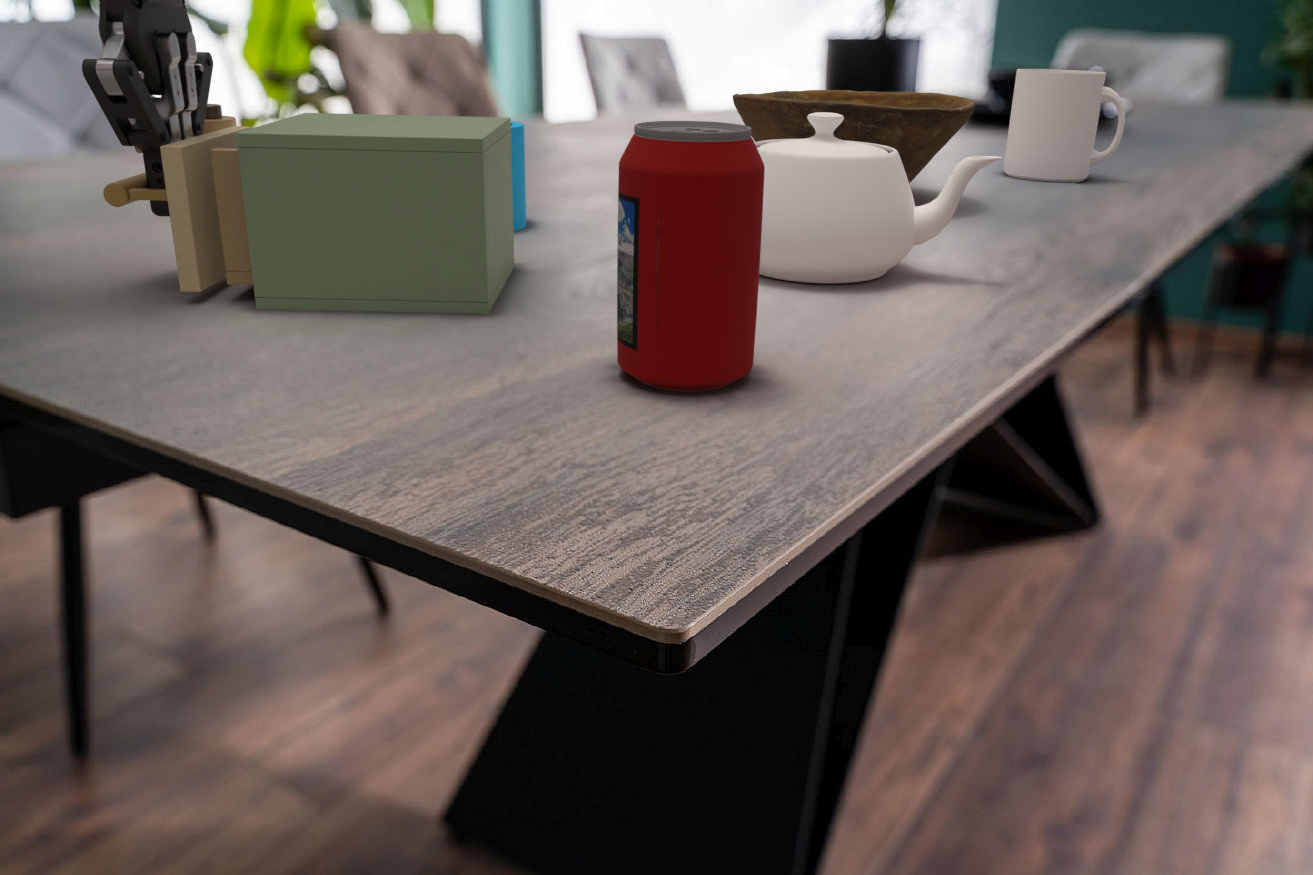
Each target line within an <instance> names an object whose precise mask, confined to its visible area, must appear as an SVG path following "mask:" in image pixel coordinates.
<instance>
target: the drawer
mask: <svg viewBox="0 0 1313 875" xmlns="http://www.w3.org/2000/svg"><path fill="white" fill-rule="evenodd" d="M251 128H253V127H252V126H246V125H245V126H243V125H242V126H241V125H240V126H239V125H238V126H237V125H236V126H233V127H229V128H226V129H222V130H218V131H215V132H211V133H207V134H204V135H200V136H196V137H193V138H189V139H185V140H182V141H178V142H174V143H171V144H167V145H163V146H160V150H161V157H162V164H163V171H164V178H165V185H166V189H148V186H147V179H146V173H145V172H142V173H138V174H136V175H132V176H129V177H126V178H123V179H119V180H117V181H113V182H110V183H108V184H107V185H106V186H105V187H104V188H103V191H102V194H103V198H104V200H105V202H106V203H107V204H108V205H110V206H111V207H115V208H122V207H123V206H127V205H130V204H133V203H134V202H137V201H150V200H153V201H168V206H169V214H170V216H169V220H170V226H171V234H172V240H173V248H174V254H175V261H176V268H177V269H176V270H177V276H178V283H179V289H180V290H179V291H180V292H182V293H185V292H186V293H187V292H188V293H201V292H203V291H204V290H206V289H208V288H209V287H211V286H213V285H214V284H216V283H217V282H219V281H221V280H222V279H224V278H225V280H226V284H227V285H228V286H253V277H252V269H251V260H250V252H249V243H248V235H247V226H246V217H245V209H244V200H243V192H242V183H241V175H240V166H239V157H238V149H237V148H238V146H237V139H236V133H237V132H241V131H244V130H247V129H251Z"/></svg>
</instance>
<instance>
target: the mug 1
mask: <svg viewBox="0 0 1313 875" xmlns="http://www.w3.org/2000/svg"><path fill="white" fill-rule="evenodd" d="M510 131H511V155H512V193H513V232H517V231H521V230H523V229H525V228H526V226H527V199H526V198H527V196H526V195H527V194H526V191H527V190H526V154H525V152H526V151H525V150H526V149H525V148H526V147H525V145H526V144H525V124H524V123H523V122H519V121H513V120H511V130H510Z"/></svg>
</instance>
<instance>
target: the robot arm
mask: <svg viewBox="0 0 1313 875" xmlns="http://www.w3.org/2000/svg"><path fill="white" fill-rule="evenodd" d="M98 2H99V4H98V8H99V9H98V10H99V11H98V12H99V13H98V14H99V17H98V34H99V37H100V41H101V45H102V46H101V47H102V51H101V54H100V57H99V58H84V59H83V60H82V63H81V72H82V76H83V78H84V79H85V80H84V81H85V82H86V84H87V85H88V87H89V89H90V91H91V92H92V95H93V96H94V98H95V99H96V102H97V103H98V105H99V107H100V109H101V111H102V112H103V114H104V116H105V118H106V119H107V121H108V123H109V125H110V127H111V129H112V131H113V132H114V134H115V136H116V138H117V139H118V141H119V143H120V145H121V146H123V147H134V150H135V152H136V153H137V154H142V158H143V163H144V173H146V179H147V186H148V189H166V185H165V178H164V171H163V164H162V157H161V150H160V146H163V145H167V144H171V143H174V142H178V141H182V140H185V139H189V138H193V137H196V136H200V135H202V134H203V129H204V123H205V116H206V109H207V104H209V103H208V102H209V96H210V89H211V83H212V77H213V76H212V75H213V69H214V60H213V57H212V54H211V52H209V51H197V43H196V42H197V41H196V37H195V35H194V33H193V27H192V24H191V20H190V17H189V14H188V13H189V12H188V9H187V6H186V0H98ZM158 96H160V97H158ZM149 206H150V210H151V212H152V213H153V215H155V216H157V217H170V214H169V206H168V201H153V200H149Z"/></svg>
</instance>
